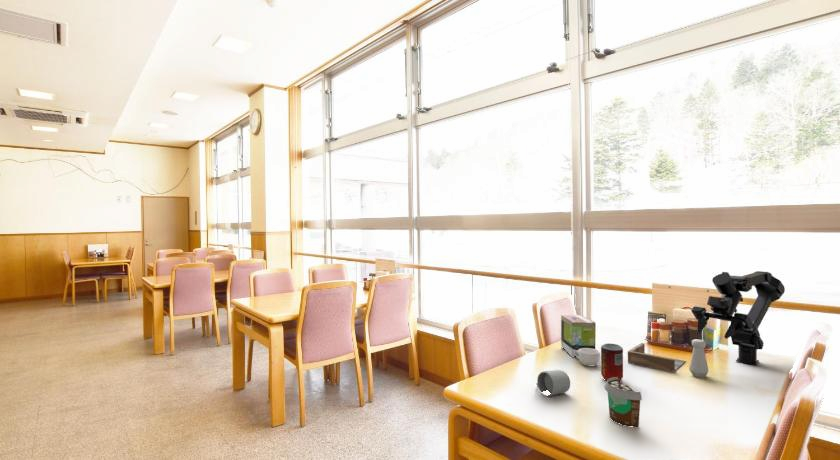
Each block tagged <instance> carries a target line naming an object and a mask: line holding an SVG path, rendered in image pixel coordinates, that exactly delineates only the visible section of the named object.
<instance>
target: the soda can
mask: <svg viewBox="0 0 840 460" xmlns="http://www.w3.org/2000/svg"><path fill="white" fill-rule="evenodd" d="M600 363H601V364H600V365H601V366H600V367H601V369H600V372H601V376H602V379H603V378H604V379H605V380H608V379H609V378H613V377H618V381H619V382H620V381H621V382H622V380H623V377H624V347H622V346H621V345H619V344H615V343H604V344H602V345H601V346H600ZM604 379H603V380H604ZM605 380H604V381H605Z"/></svg>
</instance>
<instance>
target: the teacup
mask: <svg viewBox="0 0 840 460" xmlns="http://www.w3.org/2000/svg"><path fill="white" fill-rule="evenodd" d="M575 352H577V353H578V354H579V357H578V356H576V355H575ZM574 355H575V356H576V357H575V358H577V359H578V360H579V361H580V362H581V364H582V365H584V364H585V365H584V366H586V365H595V366H597V365H598V363H599V362H600V359H601V350H599V349H596V348H595V349H592V348H580V349H579V350H578V351H574Z"/></svg>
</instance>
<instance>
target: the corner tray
mask: <svg viewBox="0 0 840 460" xmlns="http://www.w3.org/2000/svg"><path fill="white" fill-rule="evenodd" d="M628 362H629V363H628ZM686 362H687V361H686V360H682V359H677V358H672V357H667V356H661V355H655V354H650V353H646V352H645V343H642V342H641V343H640V344H639V343H638V344H637V345H636V346H634V347H632V348H630V349H629V350H628V351H627V363H628V364H632V363H633V365H637V366H641V365H642V366H641V367H647V368H652V369H656V370H661V371H665V372H671V373H675V372H676V371H678V369H679V368H681V367H682V366H683V365H684V364H685V363H686Z"/></svg>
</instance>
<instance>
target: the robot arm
mask: <svg viewBox="0 0 840 460" xmlns="http://www.w3.org/2000/svg"><path fill="white" fill-rule="evenodd" d="M711 281H712V283H713V284H714V287H715V288H716V290H717V292H718V293H719V294H720V295H721V296H719V297H718V296H712V295H709V296H708V298H707V299H708V300H707V302H706V305H707V306H710V310H711V311H708V310H707V309H706V307H701V306H697V305H695V306H693V307H692V308H691V313H692V314H693V316H694V318H695V319H696V320H697V333H698V334H700V333H701V332H702V331H703V330H704V329H705V327H706V325H708V321H709V320H710V319H711V318H712V319H717V320H720V321H724V322H730V325H729V326H728V328H727V330H726V332H725V334H724V339H729V338H730V337H731V343H732V345H734V346H735V345H736V346H737V347H738V348H737V349H738V352H737V353H738V354H737V355H738V357H737V359H735V362H736V363H743V364H747V365H753V366H758V364H759V362H760V360H759V359H758V358H757V357H758V354H757V353H758V350H763V348H764V341H763V339H762V338H761V334H760V331H759V328H760V326H761V323H762V322H763V320H764V318H765V316H766V314H767V313H768V311H769V309H770V306H771V305H772V303H774V302H776V301H778V300H780V299H781V297H782V296H783V295H784V293H785V290H786V289H785V288H786V287H785V285H784V284H783V283H782V281H781V280H780V279H779V278H777V277H776V276H774V275H773V274H772V273H771V272H769V271H762V270H761V271H759V270H757V271H754V272H752V273H749V274H745V275H730V273H729V272H728V271H722V272H721V273H720V274H717V275H715V276H713V277H712V280H711ZM753 287H754V288H755V291H756V293H757V297H756V299H755V301H754V302H753V304H752V305H751V308H750V310H749V311H748V313H747V314H746V313H741V312H738V310H737V308H738V306H739V303H740V302H741V303H742V302H744V298H743V295H742V292H743V293H748V292H749V291H751V290H752V289H753Z"/></svg>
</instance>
